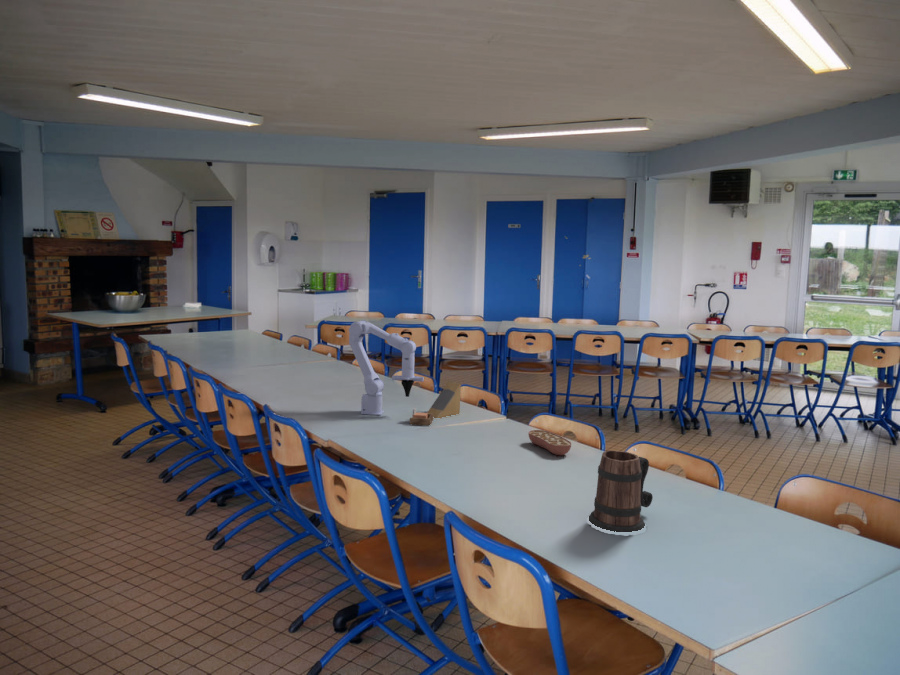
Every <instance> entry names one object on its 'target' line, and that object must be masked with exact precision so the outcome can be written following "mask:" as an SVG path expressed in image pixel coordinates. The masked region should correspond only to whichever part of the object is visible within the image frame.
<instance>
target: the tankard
mask: <svg viewBox="0 0 900 675" xmlns="http://www.w3.org/2000/svg"><path fill="white" fill-rule="evenodd" d="M649 465H650V461H649V459H648V458H646V457H643V456H639V455H637V454H635V453H632V452H628V451H620V450H619V451H618V450H605V451H603V452H602V454H601V458H600V463H599V465H598V467H597V474H598V475H597V485H596V494H595V495H596V496H595V497H594V502H593V504H594V510H593V511H592V512H591V511H590V512H591V513H590V514H589V515H588V516H589V521H590V522H591V523H592V524H594V525H595V526H597V527H600V528H602V529H606V530H610V531H614V532H615V531H616V532H632V531H638V530H641V529H642V528H644V526H645V524H646V522H645V521H644V519H643V517H641V513H642V507H643V508H648V507H649V506H651V504H652V503H653V494H652V493H651V492H649V491H646V490H644V484H645V481H646V480H645V479H646V477H647V474H648V473H649V467H650V466H649Z"/></svg>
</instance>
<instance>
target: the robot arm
mask: <svg viewBox="0 0 900 675" xmlns="http://www.w3.org/2000/svg"><path fill="white" fill-rule="evenodd" d="M348 333H349V336H348V344H349V346H350V348H351V351H352V353H353V355H354V357H355V359H356V361H357V364H358V366H359V368H360V369H359V370H360V371H361V373H362V375H363V377H364V379H363V383H364V391H365V393H363V394H362V395H361V411H360V415H368V416H369V415H370V416H371V415H372V416H382V414H383V413H384V412H385V410H384V409H383V392H382V391H383V390H384V388H385V383H384V380H382V379H381V378H380V377H379V375H378V374H377V373H376V372H375V370H374V368H373V366H372V364H371V361H370V358H369V357H368V354H367V352H366V350H365V347H364V345H363V343H362V342H363V340H364V336H366V335H369V334H372V335H374V336H376V337H379V338H380V339H383V340H385V341H386V342H387V344H388V345H389V346H391V347H393V348H394V349H396V350H399V351H400V352H401V353H402V354H401V355H402V356H401V357H402V358H401V375H392V376H391V381H401V382H400V383H401V386H402V387H403V390H404V394H405V395H404V396H405V397H407V398H408V397H409V398H410V395H411V389H412V387H413V385H414V382H420V383H421V382H422V383H423V382H424V379H425V378H424V376H415V360H416V359H415V353H416V352H415V351H417V350H416V349H417V344H416V343H415V341H413V340H411V339H408V338H407V337H406V338H404V337H403V336H401V335H400V334H399V333H398V332H396V333H395V332H394V333H393V332H392V333H388V332H387V331H385V330H384V329H382V328H380V327H378V326H377V325H375V324H373V323H372V322H370V321H367V320H363V319H362V320H359V321H354V322H352V323H351V324H350V326H349V328H348Z"/></svg>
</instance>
